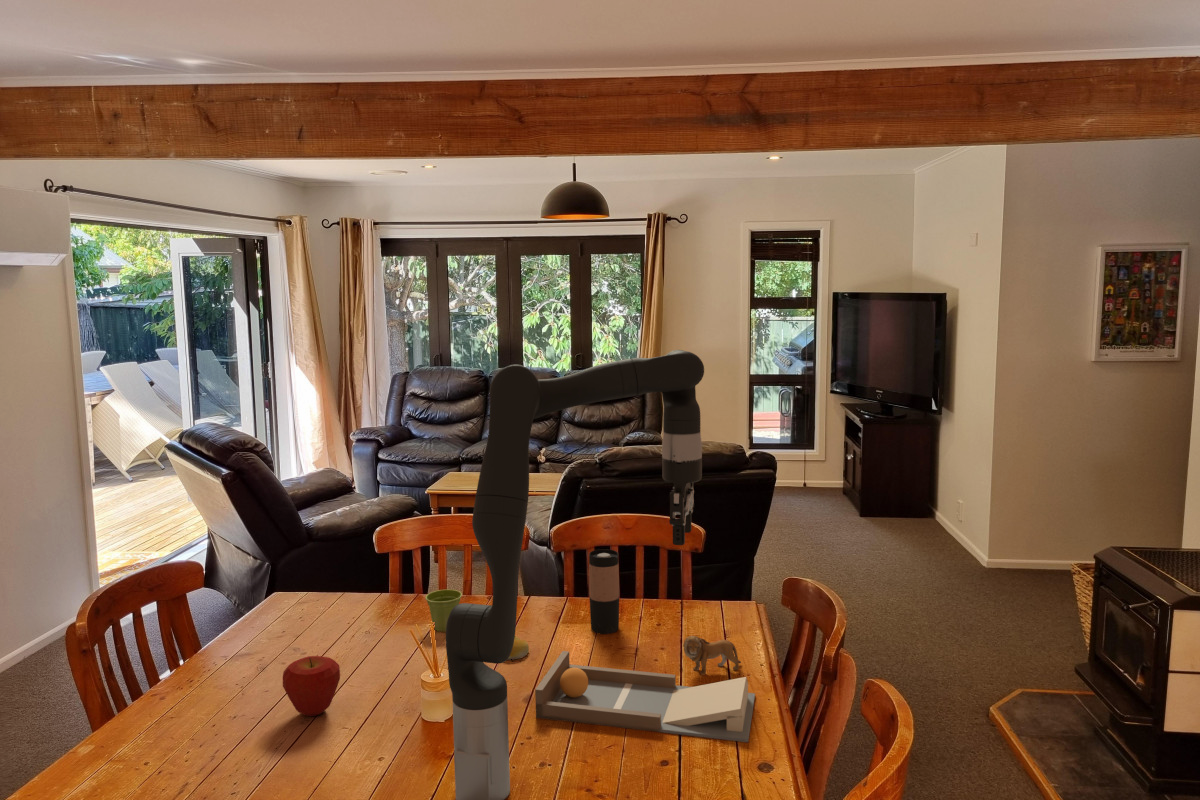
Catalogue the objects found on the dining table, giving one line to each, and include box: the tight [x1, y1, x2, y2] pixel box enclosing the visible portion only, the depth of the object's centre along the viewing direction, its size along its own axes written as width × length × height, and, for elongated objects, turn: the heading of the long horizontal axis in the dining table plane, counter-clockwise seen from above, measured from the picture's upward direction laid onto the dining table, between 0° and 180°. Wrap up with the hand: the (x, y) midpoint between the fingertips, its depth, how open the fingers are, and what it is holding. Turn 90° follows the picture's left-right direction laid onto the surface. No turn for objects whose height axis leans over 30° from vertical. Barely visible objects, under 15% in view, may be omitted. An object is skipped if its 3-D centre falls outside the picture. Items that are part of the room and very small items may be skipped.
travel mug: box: [588, 548, 620, 635], centre depth 211 cm, size 8×8×20 cm
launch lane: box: [534, 650, 756, 743], centre depth 170 cm, size 42×19×7 cm, turn 76°
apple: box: [282, 655, 341, 717], centre depth 169 cm, size 11×11×12 cm
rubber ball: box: [560, 668, 588, 697], centre depth 174 cm, size 6×6×6 cm
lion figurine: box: [682, 635, 742, 676], centre depth 187 cm, size 15×5×9 cm, turn 113°
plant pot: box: [425, 589, 463, 632], centre depth 214 cm, size 9×9×9 cm
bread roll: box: [506, 635, 530, 661], centre depth 198 cm, size 8×9×4 cm
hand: (682, 538), depth 158 cm, fingers open, 8 cm apart
